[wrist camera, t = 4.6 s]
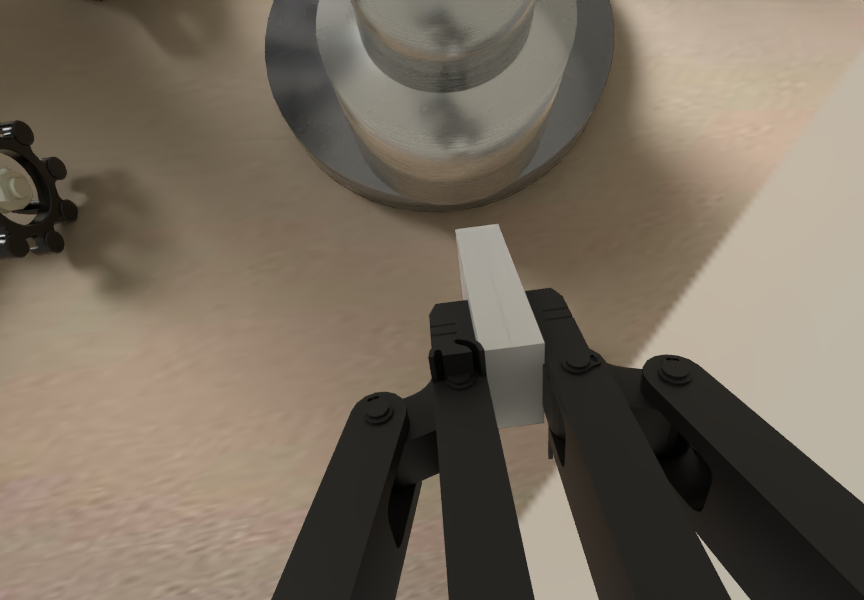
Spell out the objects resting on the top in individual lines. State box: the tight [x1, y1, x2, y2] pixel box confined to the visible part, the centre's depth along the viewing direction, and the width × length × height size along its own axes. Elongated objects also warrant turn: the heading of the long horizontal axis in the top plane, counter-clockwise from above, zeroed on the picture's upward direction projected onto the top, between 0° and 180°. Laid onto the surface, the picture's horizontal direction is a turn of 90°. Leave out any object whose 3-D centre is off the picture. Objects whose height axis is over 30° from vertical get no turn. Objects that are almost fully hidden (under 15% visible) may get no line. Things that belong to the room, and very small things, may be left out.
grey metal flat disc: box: [265, 0, 614, 212], centre depth 24 cm, size 17×17×2 cm
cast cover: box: [316, 0, 577, 205], centre depth 18 cm, size 9×9×9 cm
